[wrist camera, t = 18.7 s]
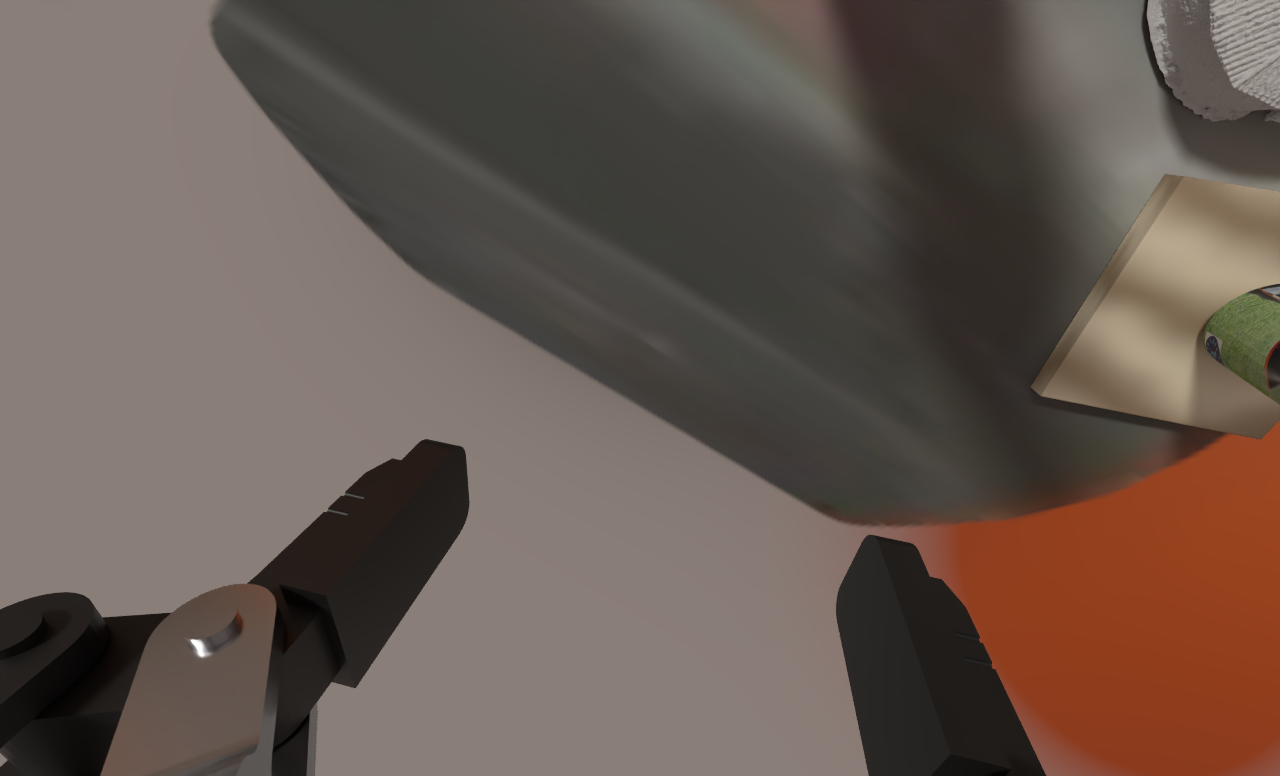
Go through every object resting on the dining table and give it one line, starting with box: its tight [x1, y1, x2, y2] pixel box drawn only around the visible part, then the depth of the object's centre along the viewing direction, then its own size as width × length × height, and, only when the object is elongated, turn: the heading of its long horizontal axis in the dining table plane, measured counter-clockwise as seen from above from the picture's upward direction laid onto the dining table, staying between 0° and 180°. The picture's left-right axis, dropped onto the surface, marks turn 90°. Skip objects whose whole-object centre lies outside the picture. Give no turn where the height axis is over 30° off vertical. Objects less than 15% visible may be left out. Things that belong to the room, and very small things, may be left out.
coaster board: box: [1031, 174, 1280, 439], centre depth 34 cm, size 16×16×2 cm
